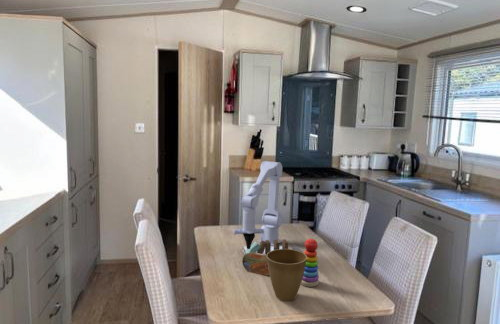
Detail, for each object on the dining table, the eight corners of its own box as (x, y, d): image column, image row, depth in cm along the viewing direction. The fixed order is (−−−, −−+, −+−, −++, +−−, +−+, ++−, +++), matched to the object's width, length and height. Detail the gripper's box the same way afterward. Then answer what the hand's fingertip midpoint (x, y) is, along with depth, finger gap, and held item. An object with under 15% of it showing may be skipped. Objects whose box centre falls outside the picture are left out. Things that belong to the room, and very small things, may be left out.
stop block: (295, 257, 181) (296, 251, 181) (291, 251, 188) (292, 246, 188) (301, 256, 182) (302, 251, 181) (297, 251, 189) (297, 246, 188)
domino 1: (249, 255, 178) (258, 244, 180) (245, 252, 183) (254, 241, 184) (251, 257, 179) (261, 246, 180) (247, 254, 183) (256, 243, 185)
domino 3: (267, 257, 180) (267, 243, 179) (264, 253, 185) (265, 240, 184) (270, 257, 180) (270, 243, 179) (268, 253, 185) (268, 240, 184)
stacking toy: (295, 282, 154) (296, 238, 152) (308, 277, 159) (310, 234, 157) (309, 289, 148) (312, 243, 146) (322, 283, 153) (325, 239, 151)
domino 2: (258, 256, 179) (263, 243, 179) (256, 253, 184) (261, 239, 184) (261, 257, 180) (266, 244, 179) (259, 254, 184) (264, 240, 184)
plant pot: (280, 284, 152) (281, 245, 150) (312, 295, 143) (314, 255, 141) (257, 297, 141) (258, 256, 139) (290, 310, 131) (292, 267, 129)
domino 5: (284, 256, 181) (285, 242, 181) (281, 253, 186) (282, 239, 185) (287, 256, 182) (288, 242, 181) (285, 253, 186) (285, 239, 186)
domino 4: (275, 257, 181) (276, 243, 180) (273, 253, 185) (273, 239, 185) (279, 257, 181) (279, 243, 180) (276, 253, 186) (277, 239, 185)
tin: (241, 270, 165) (242, 251, 164) (245, 267, 168) (245, 249, 167) (273, 277, 158) (273, 258, 157) (276, 274, 161) (276, 256, 160)
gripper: (235, 223, 174) (234, 251, 175) (265, 222, 176) (264, 250, 178) (233, 219, 180) (232, 246, 182) (262, 218, 183) (261, 245, 185)
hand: (248, 248), depth 180 cm, fingers closed
